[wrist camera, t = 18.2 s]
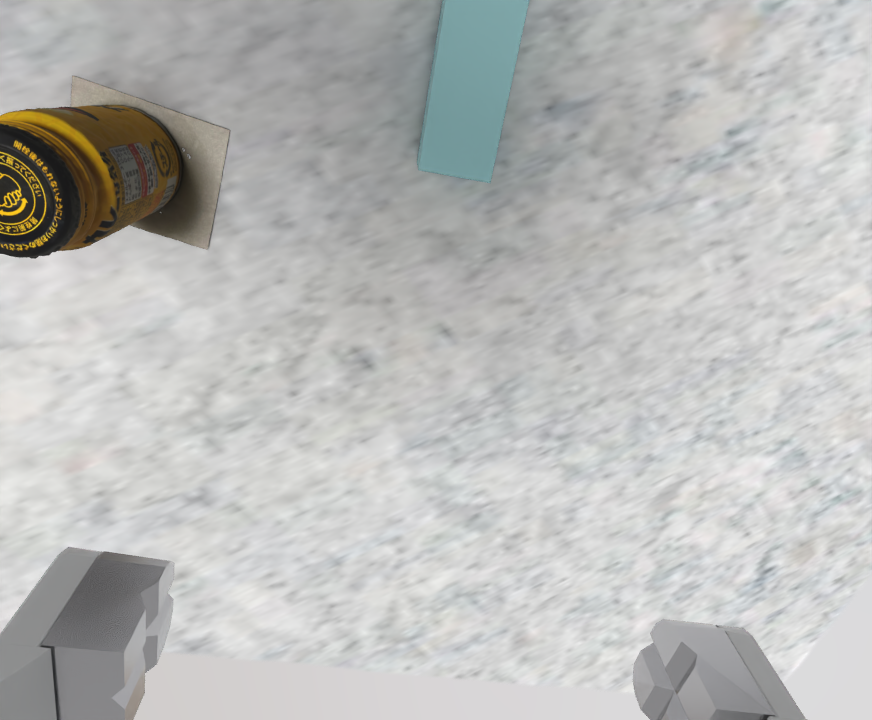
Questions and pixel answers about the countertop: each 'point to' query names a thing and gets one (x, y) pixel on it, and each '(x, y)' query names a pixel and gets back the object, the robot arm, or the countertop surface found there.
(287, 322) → the countertop surface
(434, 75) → the rod
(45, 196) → the condiment
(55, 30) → the countertop surface
